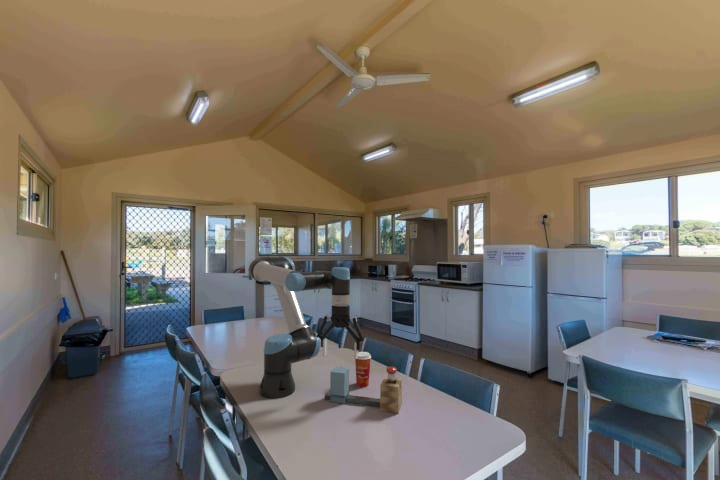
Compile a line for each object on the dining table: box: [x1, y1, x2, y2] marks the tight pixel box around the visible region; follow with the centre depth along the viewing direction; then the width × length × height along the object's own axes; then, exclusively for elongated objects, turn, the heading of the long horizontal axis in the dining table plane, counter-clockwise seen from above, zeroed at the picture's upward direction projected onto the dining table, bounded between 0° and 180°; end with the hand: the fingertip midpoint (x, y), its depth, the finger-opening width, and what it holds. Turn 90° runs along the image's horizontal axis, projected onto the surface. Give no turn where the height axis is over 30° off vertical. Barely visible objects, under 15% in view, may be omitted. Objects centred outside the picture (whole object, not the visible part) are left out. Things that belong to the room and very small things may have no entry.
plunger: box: [385, 366, 398, 384], centre depth 133 cm, size 4×4×6 cm
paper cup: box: [354, 351, 372, 388], centre depth 155 cm, size 8×8×14 cm
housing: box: [379, 376, 403, 414], centre depth 133 cm, size 7×9×10 cm
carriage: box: [329, 366, 350, 405], centre depth 139 cm, size 6×6×12 cm
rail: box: [324, 391, 380, 408], centre depth 137 cm, size 24×3×2 cm, turn 74°
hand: (340, 356), depth 139 cm, fingers open, 13 cm apart
